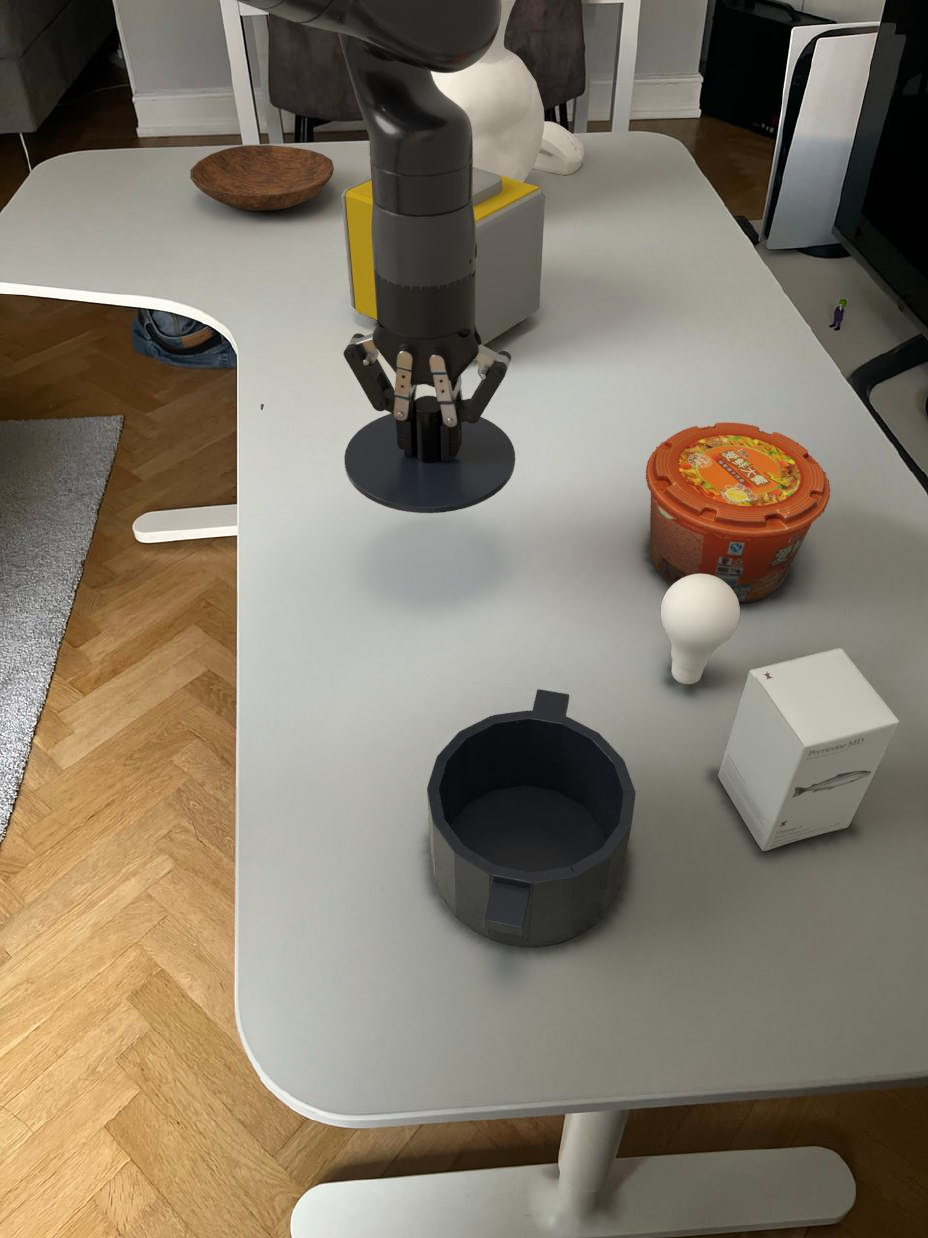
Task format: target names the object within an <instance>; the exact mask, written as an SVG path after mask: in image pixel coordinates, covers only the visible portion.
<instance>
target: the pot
mask: <svg viewBox="0 0 928 1238" xmlns="http://www.w3.org/2000/svg"><path fill="white" fill-rule="evenodd" d="M569 702H570V694H569V693H564V692H557V691H552V690H545V689H540V688H537V690H536V693H535V697H534V701H533V707H532V710H531V709H529V710H520V711H513V712H506V713H498V714H492V715H489V716H487V717H486V718H483V719H481V720H480V721H478V722H475V723H473V724H471V725H470V726H468V727H465V728H464V729H461V730H460V731H458V732H457V733H456V735H455V736H454V737H453V738H452V739H451V740H450V741H449V742H448V744H446V745H445V747H443V749H442V750H441V751H440V753H439V754H438V755H437V756H436V757H435V761H434V764H433V766H432V769H431V770H432V771H431V774H430V777H429V780H428V783H427V786H426V797H427V812H428V814H427V815H428V830H429V833H428V834H429V849H430V859H431V865H432V872H433V877H434V882H435V883H434V884H435V886H436V888H437V890H438V893H439V895H440V896H441V898H442V900H443V901H444V903H445V905H446V906H447V907H448V909H449V910H450V911H451V913H452V914H453V915H455V917H456V918H457V919H458V920H460V921H461V923H463V924H464V925H465V926H467V927H468V928H469V929H471V930H472V931H474V932H476V933H477V934H479V935H480V936H483V937H485V938H487V939H490V940H491V941H495V942H496V943H497V942H498V943H501V944H505V945H509V946H514V947H525V948H526V947H528V948H531V947H532V948H535V947H536V948H537V947H545V946H546V947H547V946H551V945H557V944H559V943H562V942H566V941H568V940H571V939H573V938H575V937H576V936H579V935H581V934H582V933H584V932H585V931H587V930H589V929H590V928H591V927H593V926H594V925H595V924H596V923H597V922H598V921H599V920H600V919H601V918H602V917H603V915H605V913H606V912H607V911H608V909H609V908H610V906H611V904H612V902H613V901H614V898H615V897H616V894H617V893H618V892H619V890H620V886H621V881H622V875H623V870H624V865H625V861H626V855H627V851H628V847H629V841H630V835H631V831H632V825H633V818H634V810H635V802H636V794H637V793H636V790H635V787H634V783H633V781H632V778H631V776H630V772H629V770H628V768H627V764H626V761H625V760H624V758H623V757H622V756H621V755H620V754H619V753H618V752H617V751H616V749H614V747H613V746H612V745H611V744H610V743H609V742H608V741H607V740H606V739H605V737H603V735H602V734H600V732H598V731H596V730H594V729H592V728H590V727H588V726H586V725H585V724H582V723H581V722H578V721H577V720H574V719H573V718H571V717H569V716H567V713H568V708H569V704H570V703H569Z"/></svg>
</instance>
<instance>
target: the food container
mask: <svg viewBox="0 0 928 1238" xmlns="http://www.w3.org/2000/svg"><path fill="white" fill-rule="evenodd" d="M645 480H646V481H645V482H646V485H647V488H648V491H649V492H650V507H649V508H650V513H649V514H650V517H649V519H650V523H649V524H650V527H649V529H650V530H649V531H650V532H649V553H650V559H651V562H652V564H653V566H654V568H655V570H656V571H657V572H658V574H659V575H660V576H661V577H662V579H664V580H665V582H667V583H668V584H669V585H670V586H672V585H673V584H674V583H675V582H677V581H678V580H680V579H681V578H684V577H686V576H689V575H693V574H708V575H712V576H715V577H718V578H720V579H721V580H723V581H724V582H725V583H726V584H728V585H729V586H730V587H731V589H732V590H733V591H734V593H735V594H736V596H737V599H738V602H739V604H745V603H752V602H755V601H759V600H761V599H763V598H765V597H768V596H769V595H771V594H772V593H774V592H775V591H776V590H778V588H779V587H780V586H781V585H782V583H783V582H784V580H785V578H786V576H787V574H788V573H789V570H790V568H791V566H792V565H793V562H794V560H795V559H796V556H797V554H798V552H799V550H800V548H801V546H802V544H803V542H804V540H805V538H806V536H807V534H808V532H809V530H810V529H811V526H812V524H813V523H814V521H816V520H817V519H818V518H819V517H820V516H822V514H824V512H825V510H826V508H827V507H828V504H829V500H830V497H831V487H830V486H831V485H830V479H828V476H827V473H826V472H825V471H824V469H823V468H822V466H821V465H820V463H819V462H817V461H816V459H815V458H814V457H813V456H812V455H811V454H810V453H809V452H808V450H807V449H806V447H805V446H803V445H801V444H800V443H799V442H798V441H796V440H794V439H792V438H790V437H788V436H786V435H784V434H782V433H779V432H777V431H773V432H772V433H768V432H765V430H760V427H758V426H757V425H753V424H748V423H741V422H725V421H724V422H716V423H715V424H714V425H711V426H710V425H707V426H702V427H699V426H698V425H695V426H690V427H687V428H686V429H683V430H680V431H678V432H677V433H675V434H673V435H671V436H670V437H669V438H667V439H666V440H664V441H662V442H661V443H660V444H659V445H658V446H656V447H655V449H654V451H652V453H651V455H650V456H649V458H648V460H647V463H646V468H645Z"/></svg>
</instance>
